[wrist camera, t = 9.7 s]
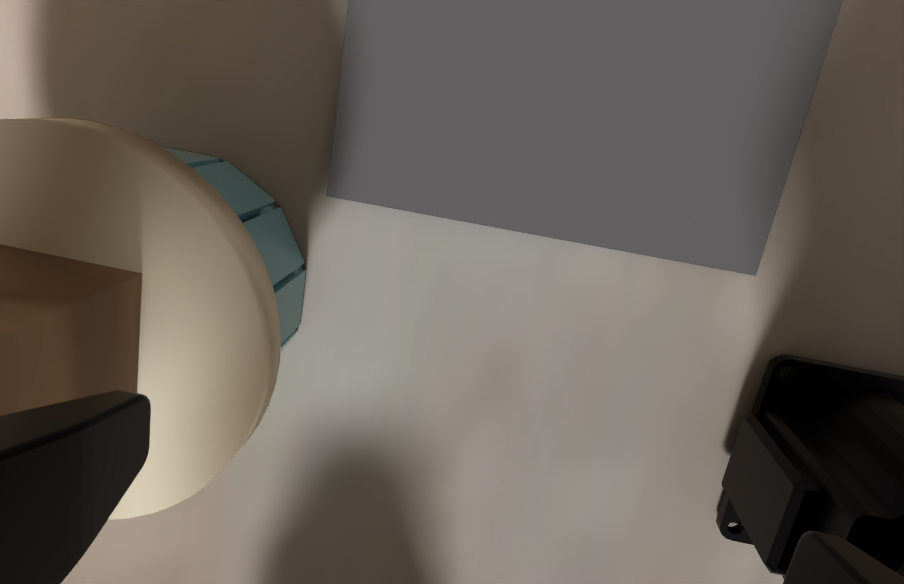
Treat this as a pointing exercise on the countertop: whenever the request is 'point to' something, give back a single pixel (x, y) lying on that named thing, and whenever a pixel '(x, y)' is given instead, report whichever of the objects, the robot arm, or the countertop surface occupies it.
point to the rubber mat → (582, 117)
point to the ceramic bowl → (260, 233)
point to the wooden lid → (132, 297)
